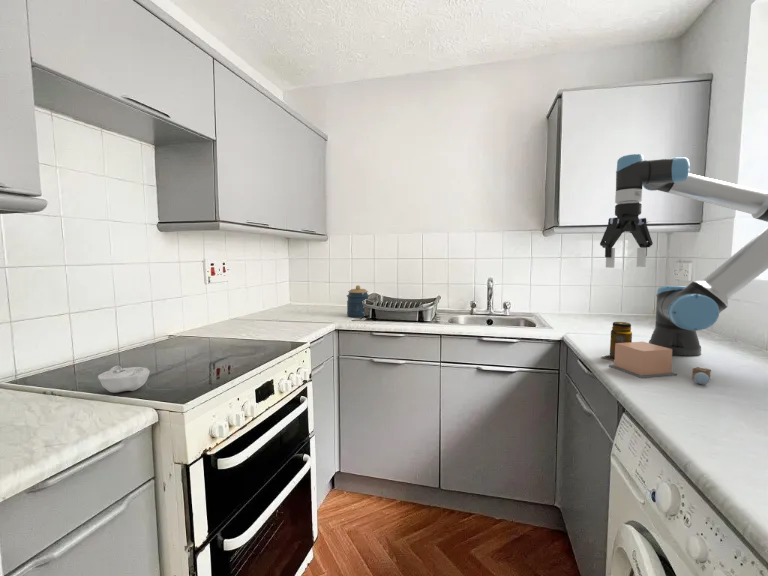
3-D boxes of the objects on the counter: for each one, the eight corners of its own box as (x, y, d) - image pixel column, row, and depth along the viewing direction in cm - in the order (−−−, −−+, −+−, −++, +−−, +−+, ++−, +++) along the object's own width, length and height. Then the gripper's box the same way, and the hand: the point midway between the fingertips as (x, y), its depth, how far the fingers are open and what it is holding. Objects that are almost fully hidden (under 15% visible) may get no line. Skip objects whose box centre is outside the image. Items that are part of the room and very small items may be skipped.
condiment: (636, 358, 129) (638, 323, 128) (623, 363, 124) (625, 326, 123) (613, 354, 135) (614, 320, 134) (600, 358, 130) (602, 322, 129)
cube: (697, 377, 110) (697, 367, 109) (710, 380, 107) (710, 369, 107) (691, 379, 108) (692, 368, 108) (704, 382, 106) (705, 371, 105)
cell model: (135, 398, 97) (133, 371, 96) (88, 398, 97) (86, 371, 96) (159, 384, 107) (158, 360, 106) (116, 384, 107) (115, 360, 107)
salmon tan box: (641, 363, 122) (642, 341, 121) (670, 372, 112) (672, 349, 112) (614, 365, 120) (615, 343, 119) (641, 375, 110) (643, 351, 109)
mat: (641, 363, 123) (641, 362, 123) (676, 375, 111) (676, 373, 111) (608, 366, 121) (608, 364, 121) (641, 378, 109) (641, 376, 109)
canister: (344, 317, 217) (343, 286, 215) (350, 314, 229) (349, 284, 228) (367, 318, 215) (366, 286, 213) (371, 314, 227) (371, 284, 226)
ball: (700, 381, 105) (700, 370, 105) (712, 385, 102) (713, 374, 102) (690, 382, 105) (691, 371, 104) (702, 386, 102) (703, 374, 101)
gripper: (608, 200, 122) (605, 268, 124) (667, 203, 129) (664, 266, 131) (589, 204, 129) (587, 267, 131) (646, 205, 137) (643, 266, 138)
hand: (625, 267), depth 131 cm, fingers open, 13 cm apart
